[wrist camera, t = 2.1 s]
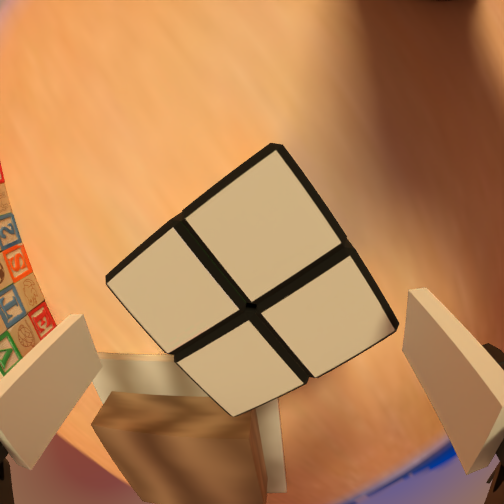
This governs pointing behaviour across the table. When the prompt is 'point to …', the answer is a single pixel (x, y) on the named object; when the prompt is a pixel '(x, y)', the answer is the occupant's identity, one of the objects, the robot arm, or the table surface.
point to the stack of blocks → (18, 294)
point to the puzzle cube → (254, 286)
